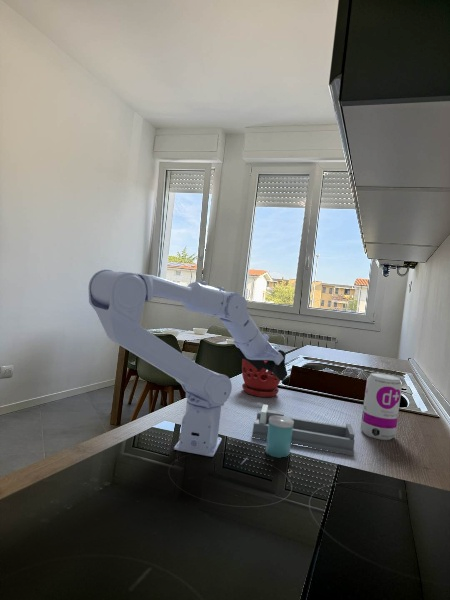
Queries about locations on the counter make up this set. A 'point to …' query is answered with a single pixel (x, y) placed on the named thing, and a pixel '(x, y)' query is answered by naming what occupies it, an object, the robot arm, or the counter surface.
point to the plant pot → (259, 380)
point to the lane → (314, 435)
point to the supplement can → (381, 406)
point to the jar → (279, 436)
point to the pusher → (268, 414)
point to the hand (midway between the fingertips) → (272, 372)
